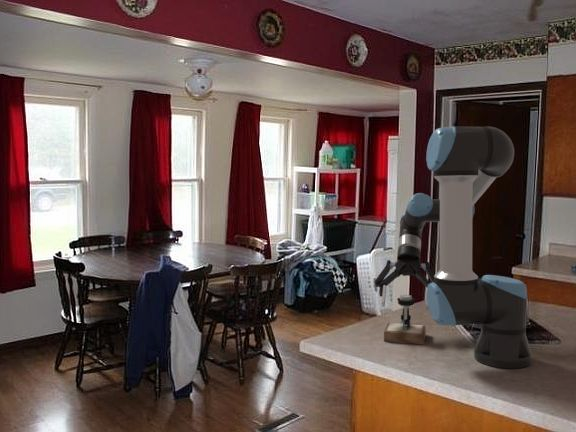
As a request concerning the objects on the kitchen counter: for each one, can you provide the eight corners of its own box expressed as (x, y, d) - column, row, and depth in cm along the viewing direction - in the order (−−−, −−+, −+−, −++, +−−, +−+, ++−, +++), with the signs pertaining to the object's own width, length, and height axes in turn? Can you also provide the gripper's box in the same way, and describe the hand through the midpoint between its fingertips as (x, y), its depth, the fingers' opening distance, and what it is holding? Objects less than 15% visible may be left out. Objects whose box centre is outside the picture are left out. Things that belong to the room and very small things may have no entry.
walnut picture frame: (425, 334, 184) (425, 324, 184) (423, 344, 175) (423, 333, 175) (387, 331, 188) (387, 322, 188) (384, 341, 178) (384, 330, 178)
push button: (413, 331, 177) (414, 299, 176) (396, 330, 178) (396, 298, 178) (414, 325, 184) (414, 294, 183) (397, 324, 185) (397, 293, 184)
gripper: (447, 259, 193) (446, 314, 180) (373, 256, 200) (366, 309, 187) (447, 245, 187) (446, 302, 174) (370, 243, 194) (364, 297, 181)
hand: (404, 306), depth 180 cm, fingers open, 13 cm apart
